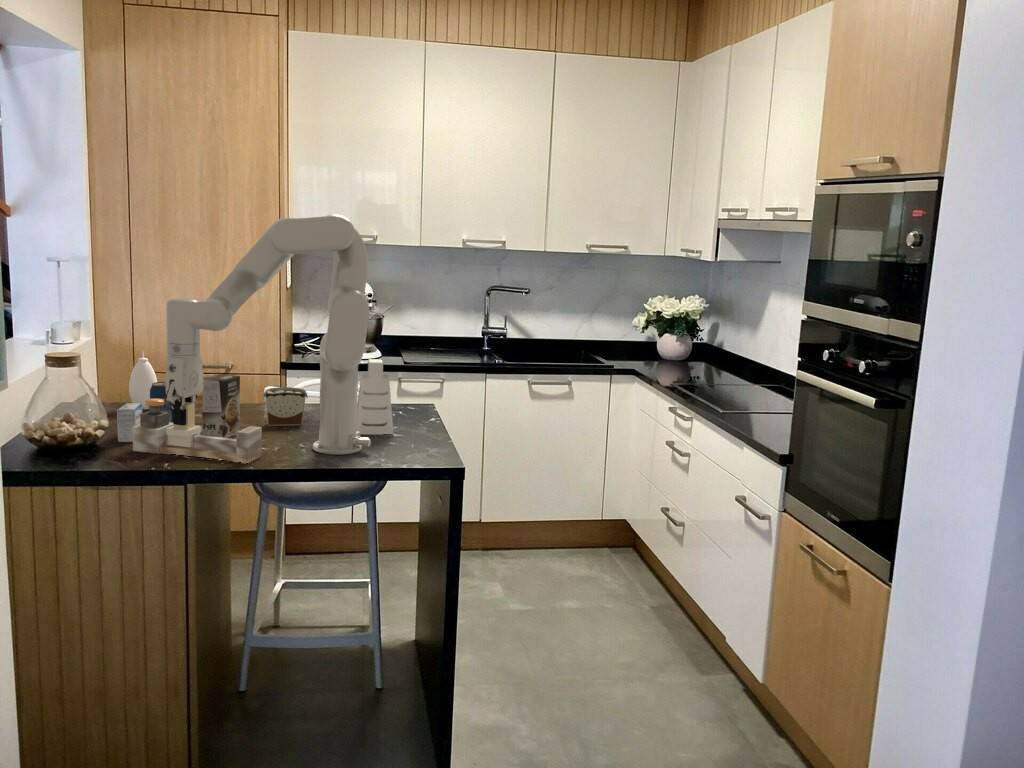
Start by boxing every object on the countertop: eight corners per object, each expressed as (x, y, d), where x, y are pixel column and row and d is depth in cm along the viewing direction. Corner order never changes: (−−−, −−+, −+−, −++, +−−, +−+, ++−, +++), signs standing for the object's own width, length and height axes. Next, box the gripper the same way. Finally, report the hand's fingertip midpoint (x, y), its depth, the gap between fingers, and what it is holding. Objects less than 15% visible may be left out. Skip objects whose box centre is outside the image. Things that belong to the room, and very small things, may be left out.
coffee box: (223, 441, 239) (223, 380, 236) (201, 438, 240) (201, 378, 237) (240, 433, 248) (241, 375, 245) (219, 431, 249) (219, 373, 246)
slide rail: (262, 456, 227) (262, 420, 225) (246, 464, 219) (247, 427, 217) (152, 443, 233) (151, 408, 231) (132, 450, 225) (132, 415, 223)
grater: (355, 434, 254) (357, 363, 251) (354, 425, 264) (356, 357, 261) (393, 434, 257) (395, 364, 253) (390, 425, 267) (392, 358, 263)
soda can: (164, 422, 255) (163, 380, 253) (182, 426, 252) (182, 383, 250) (144, 427, 249) (143, 383, 247) (163, 430, 246) (162, 387, 244)
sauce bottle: (162, 410, 269) (162, 350, 266) (136, 413, 263) (135, 352, 260) (150, 405, 274) (149, 346, 271) (124, 408, 269) (123, 348, 265)
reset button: (167, 414, 228) (167, 399, 228) (157, 417, 224) (157, 402, 223) (152, 412, 229) (151, 397, 228) (141, 416, 225) (141, 401, 224)
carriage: (201, 442, 228) (201, 402, 227) (188, 448, 223) (188, 406, 221) (180, 440, 230) (179, 400, 228) (166, 445, 224) (165, 404, 222)
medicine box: (135, 442, 233) (135, 409, 231) (117, 442, 232) (116, 409, 230) (143, 435, 240) (142, 403, 239) (125, 435, 239) (124, 402, 238)
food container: (305, 420, 267) (305, 386, 266) (307, 425, 262) (307, 390, 260) (261, 420, 264) (261, 386, 262) (262, 425, 258) (263, 391, 256)
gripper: (178, 355, 213) (179, 431, 217) (215, 346, 229) (215, 418, 232) (149, 352, 215) (150, 428, 218) (187, 344, 231) (188, 415, 234)
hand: (184, 422), depth 225 cm, fingers closed on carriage, 3 cm apart
